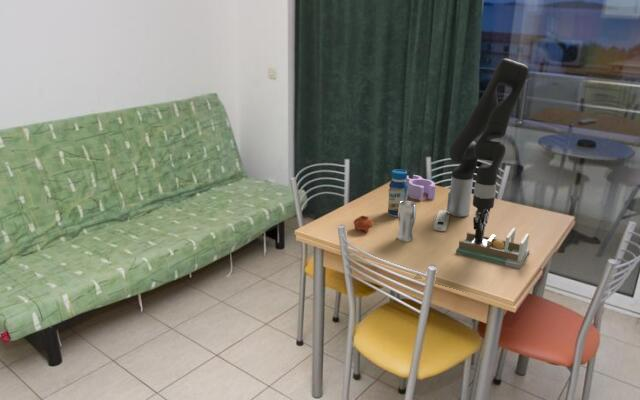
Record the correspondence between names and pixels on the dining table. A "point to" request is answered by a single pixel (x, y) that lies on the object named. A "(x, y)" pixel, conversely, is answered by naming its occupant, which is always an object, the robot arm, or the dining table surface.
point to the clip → (420, 188)
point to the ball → (498, 244)
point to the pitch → (497, 250)
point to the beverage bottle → (397, 191)
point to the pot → (363, 223)
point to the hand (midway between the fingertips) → (479, 236)
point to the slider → (484, 240)
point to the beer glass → (406, 220)
